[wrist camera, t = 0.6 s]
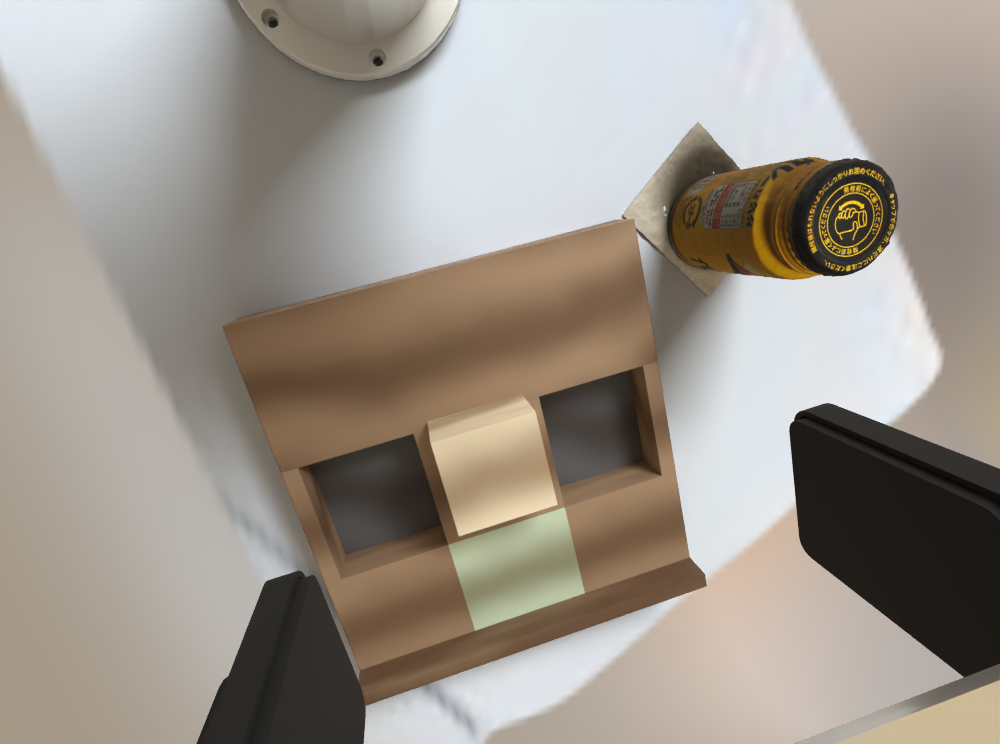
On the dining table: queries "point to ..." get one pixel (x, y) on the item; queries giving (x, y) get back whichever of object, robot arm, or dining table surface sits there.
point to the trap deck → (413, 469)
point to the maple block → (492, 463)
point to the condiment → (764, 214)
